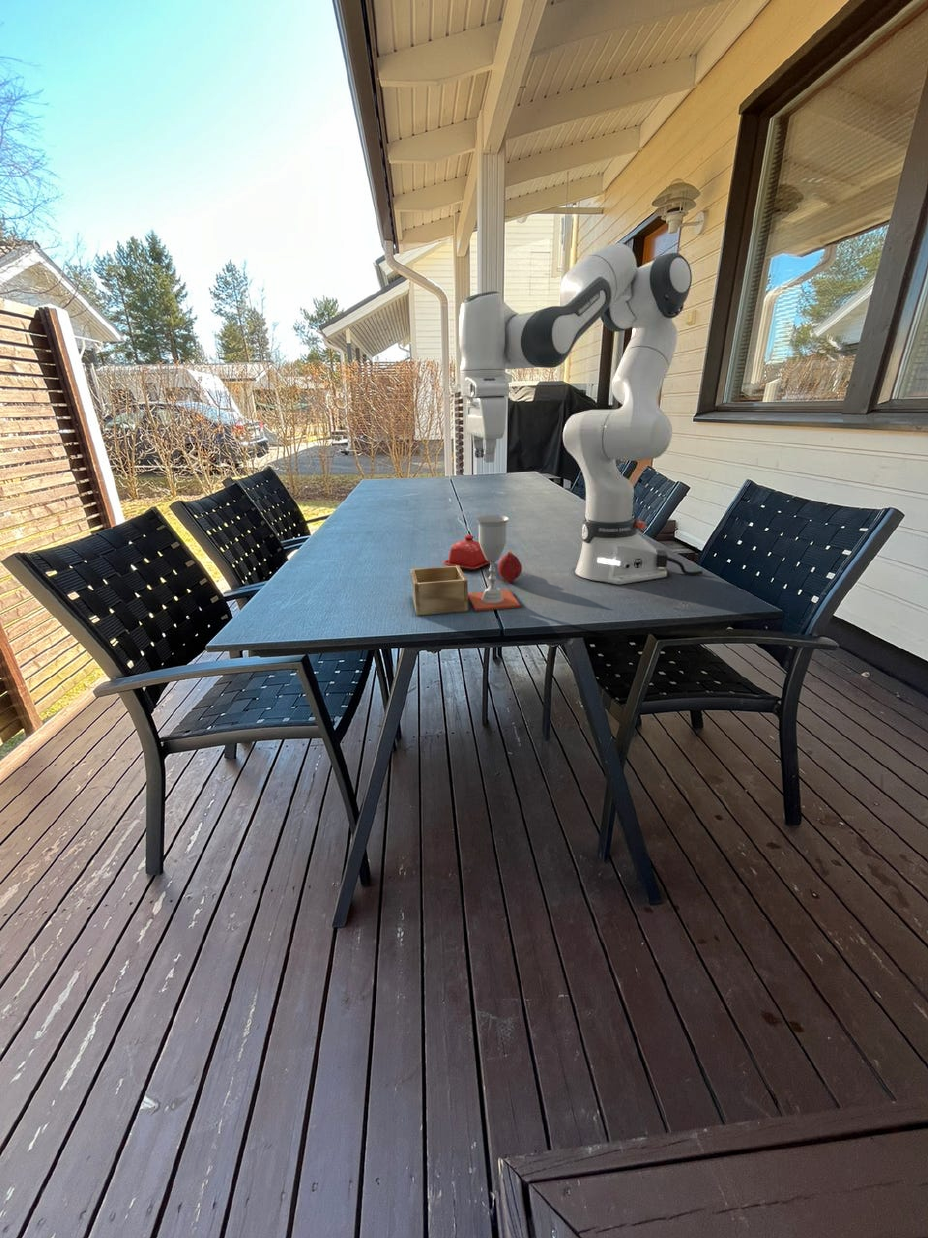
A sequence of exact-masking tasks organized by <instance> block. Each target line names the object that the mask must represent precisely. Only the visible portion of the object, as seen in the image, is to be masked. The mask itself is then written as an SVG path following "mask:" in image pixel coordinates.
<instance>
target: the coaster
mask: <svg viewBox="0 0 928 1238" xmlns="http://www.w3.org/2000/svg"><path fill="white" fill-rule="evenodd" d="M500 591H501V593H502V596H503V598H504V600H503V601H501V602H498V603H487V602H484V601H482V600H481V598H482V597H483V594H484V591H482V592H481V591H480V592H470V593H469V592H468V601H469V602H470V604H471V606H472V608H473V610H474V611H475V612H481V611H482V612H483V611H493V610H503V609H515V608H521V604H520V602H519V601H518V599H517V598H516V597H515V596H514V594H513V593H512V592H511V590H509V589H505V590H500Z"/></svg>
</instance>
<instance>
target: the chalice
mask: <svg viewBox="0 0 928 1238" xmlns="http://www.w3.org/2000/svg"><path fill="white" fill-rule="evenodd" d="M475 519H476V520H475V521H476V522H477V524H478V542H479V544H480V547H481V550H482V552H483V554H484V556H485V558H486V560H487V561H490V563H489V564H490V565H489V568H488V571H489V573H490V575H489V577H488V580H489V581H490V585H489V586H488V587H487V588H485V589H484V591H483V592H484V594H483V597H482V598H481V600H482V601H484V602H487V603H498V602H501V601H503V600H504V598H503V596H502V593H501V591H502V590H501V589H500V588H499V587H497V586H496V584H495V582H496V580H497V577H496V575H495V573H496V571H497V569H496V566H495V564H496V562H497V561H499V560H500V559H501V558H500V557H501V556H502V554H503V551H504V549H505V544H506V543H507V523H508V521H509V517H507V516H505V515H500V514H499V515H497V514H493V515H491V514H490V515H489V514H488V515H482V516H481V515H480V516H478V517H476V518H475Z"/></svg>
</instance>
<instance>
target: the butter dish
mask: <svg viewBox="0 0 928 1238" xmlns="http://www.w3.org/2000/svg"><path fill="white" fill-rule="evenodd" d="M474 537H475V536H474V535H473V534H465V535H464V540H460V541H458V542H455V543H454V544H452V545H451V547H450V549H449V555H448V559H446V560H444V561H442V563H441V564H443V565H445V566H458V565H459V567H460V568H461V569H462V570H463V569H464V570H469V571H475V570H477V569H480V568H481V567H485V566H487V565H488V564H490V561H487V560H486V558H485V556H484V554H483V552H482V550H481V547H480V544H479V540H474Z"/></svg>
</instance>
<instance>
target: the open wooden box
mask: <svg viewBox="0 0 928 1238" xmlns="http://www.w3.org/2000/svg"><path fill="white" fill-rule="evenodd" d="M410 583H411V584H410V586H411V596H412V597H411V598H412V603H413V608H414V610H415V615H416V616H428V615H439V614H451V613H460V612H461V613H463V612H468V611H469V598H468V593H469V589H468V588H469V587H468V584H469V583H468V578H467V577H466V575H465V574H464V572H463V569H462V568H460V567H459V565H458V566H450V565H445V566H433V567H419V568H418V567H417V568H410Z"/></svg>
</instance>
